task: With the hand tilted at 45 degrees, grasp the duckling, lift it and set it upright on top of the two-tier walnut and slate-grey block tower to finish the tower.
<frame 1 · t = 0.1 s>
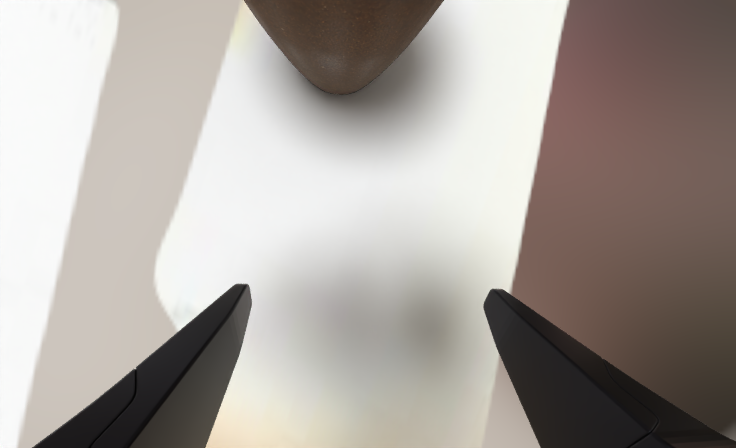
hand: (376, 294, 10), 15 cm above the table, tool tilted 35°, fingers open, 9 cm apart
plant pot: (336, 58, 25), on the table
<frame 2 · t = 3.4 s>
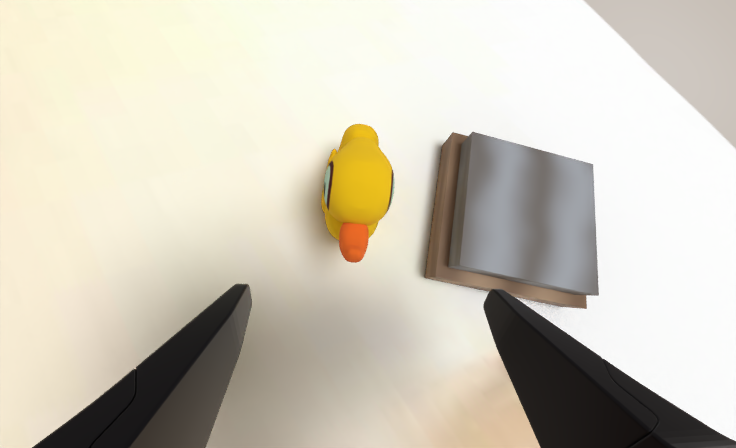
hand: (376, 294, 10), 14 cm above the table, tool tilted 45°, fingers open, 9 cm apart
duckling: (350, 208, 25), on the table
block tower: (499, 222, 26), on the table
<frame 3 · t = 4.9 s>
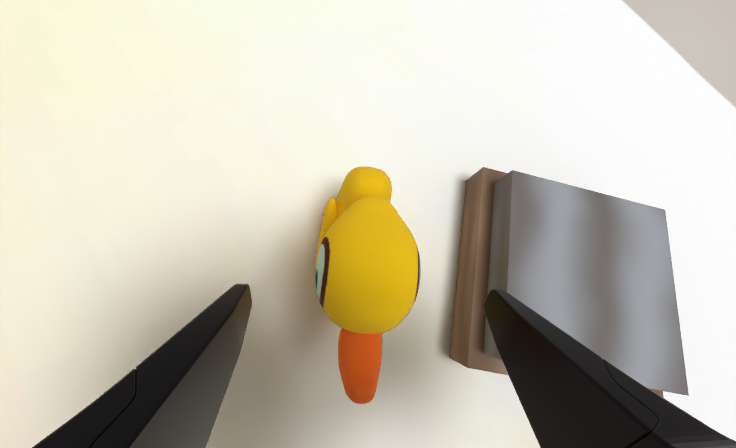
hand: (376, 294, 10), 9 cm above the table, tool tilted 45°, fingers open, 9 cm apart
duckling: (353, 265, 19), on the table
block tower: (540, 278, 21), on the table
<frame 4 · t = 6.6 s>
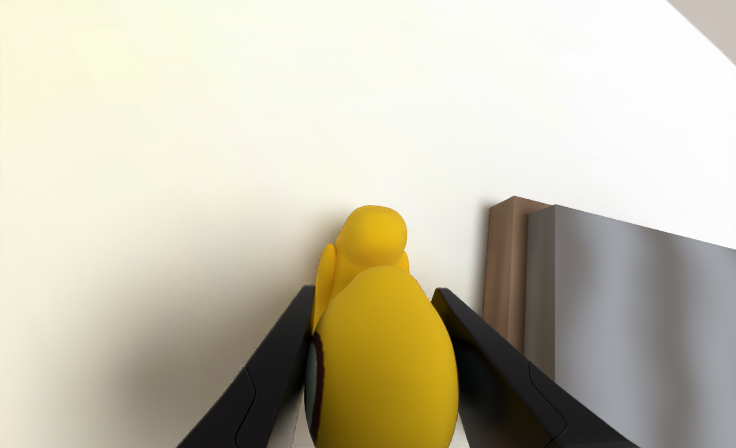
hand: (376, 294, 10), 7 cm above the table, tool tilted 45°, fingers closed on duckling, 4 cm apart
duckling: (356, 315, 16), on the table, touching gripper
block tower: (579, 327, 18), on the table
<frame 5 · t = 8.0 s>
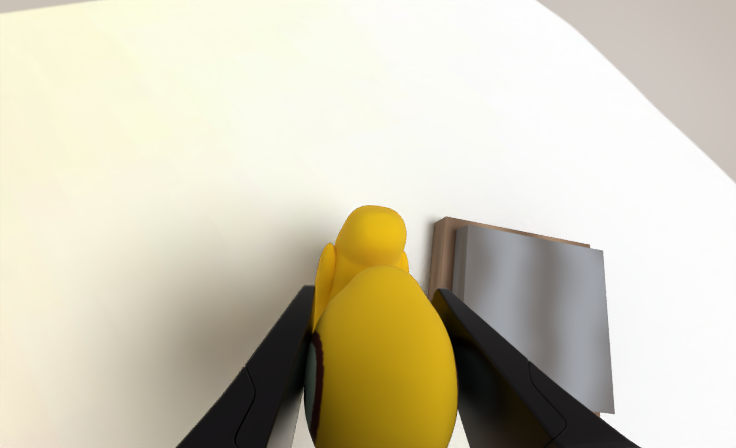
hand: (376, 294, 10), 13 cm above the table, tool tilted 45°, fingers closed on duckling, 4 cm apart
duckling: (356, 315, 16), point 6 cm above the table, touching gripper
block tower: (500, 309, 24), on the table
when the fingers open (12 cm above the table, at t = 9.9 s): duckling drops 1 cm, resting on block tower.
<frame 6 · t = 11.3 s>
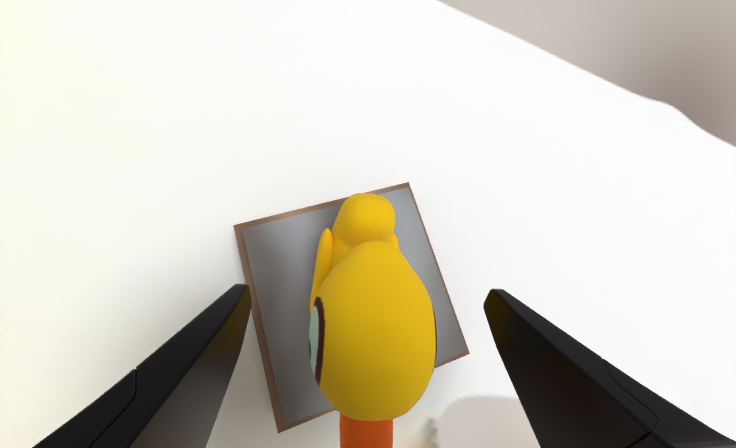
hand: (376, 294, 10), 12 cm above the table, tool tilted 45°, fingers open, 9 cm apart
duckling: (353, 296, 17), point 4 cm above the table, touching block tower
block tower: (349, 289, 22), on the table
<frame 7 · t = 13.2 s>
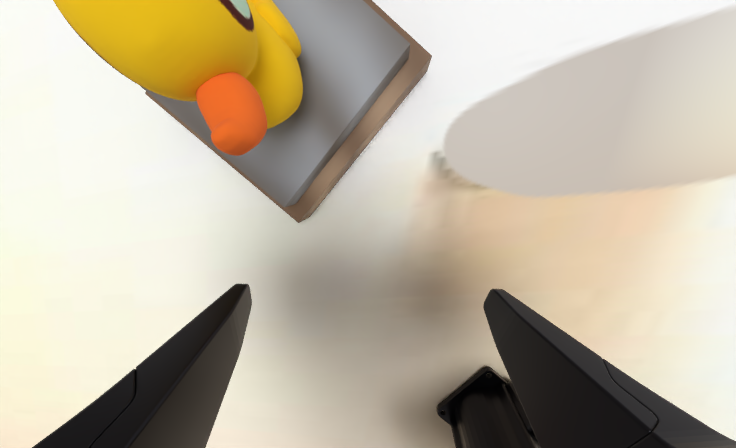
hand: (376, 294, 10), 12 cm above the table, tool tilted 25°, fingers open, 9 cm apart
duckling: (268, 72, 16), point 4 cm above the table, touching block tower
block tower: (293, 87, 20), on the table
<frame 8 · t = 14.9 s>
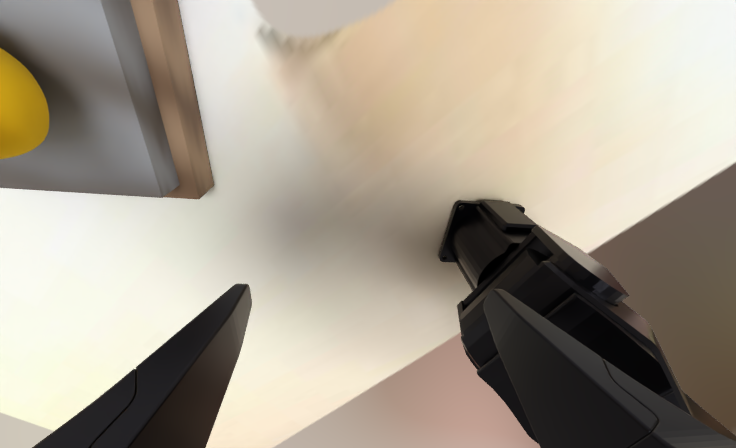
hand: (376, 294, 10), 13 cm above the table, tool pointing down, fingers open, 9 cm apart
block tower: (68, 68, 16), on the table
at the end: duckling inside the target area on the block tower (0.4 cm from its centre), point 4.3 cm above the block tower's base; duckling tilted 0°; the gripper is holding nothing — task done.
